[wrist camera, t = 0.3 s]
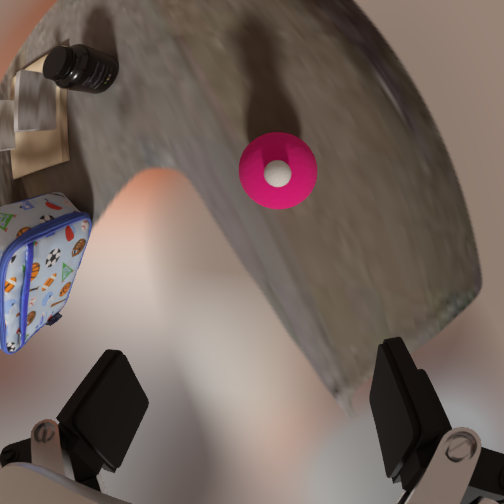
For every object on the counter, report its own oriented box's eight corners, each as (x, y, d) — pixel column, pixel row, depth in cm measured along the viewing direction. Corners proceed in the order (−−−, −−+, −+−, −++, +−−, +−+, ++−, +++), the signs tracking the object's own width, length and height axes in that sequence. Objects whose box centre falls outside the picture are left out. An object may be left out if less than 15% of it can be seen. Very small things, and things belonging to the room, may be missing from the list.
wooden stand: (18, 78, 32) (-20, 76, 22) (69, 47, 30) (29, 35, 20) (20, 177, 40) (-20, 188, 29) (69, 160, 38) (23, 168, 28)
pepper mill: (285, 125, 34) (290, 96, 15) (317, 170, 35) (356, 190, 17) (240, 156, 36) (197, 163, 17) (272, 200, 37) (264, 251, 19)
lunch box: (70, 317, 50) (9, 379, 29) (38, 288, 48) (-26, 340, 28) (105, 210, 40) (2, 260, 20) (66, 179, 39) (-36, 210, 18)
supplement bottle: (80, 87, 33) (30, 79, 22) (100, 51, 31) (53, 34, 20) (105, 100, 34) (54, 92, 23) (127, 62, 32) (80, 42, 21)
